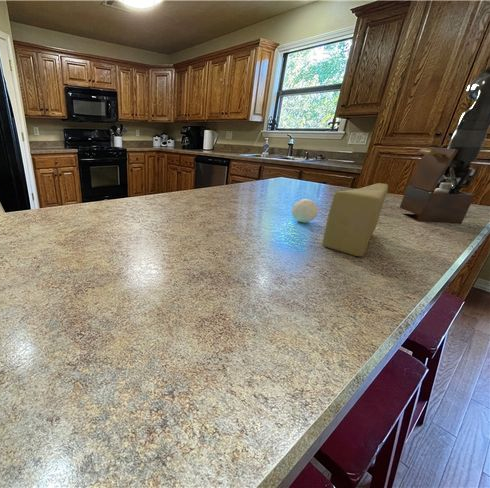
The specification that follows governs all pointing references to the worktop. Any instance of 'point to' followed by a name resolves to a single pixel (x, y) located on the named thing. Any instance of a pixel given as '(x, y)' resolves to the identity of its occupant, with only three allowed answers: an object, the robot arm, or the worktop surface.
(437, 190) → the supplement bottle
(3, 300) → the worktop surface
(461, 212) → the chest
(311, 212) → the ball
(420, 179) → the lid
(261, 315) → the worktop surface
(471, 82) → the robot arm
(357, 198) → the cheese
